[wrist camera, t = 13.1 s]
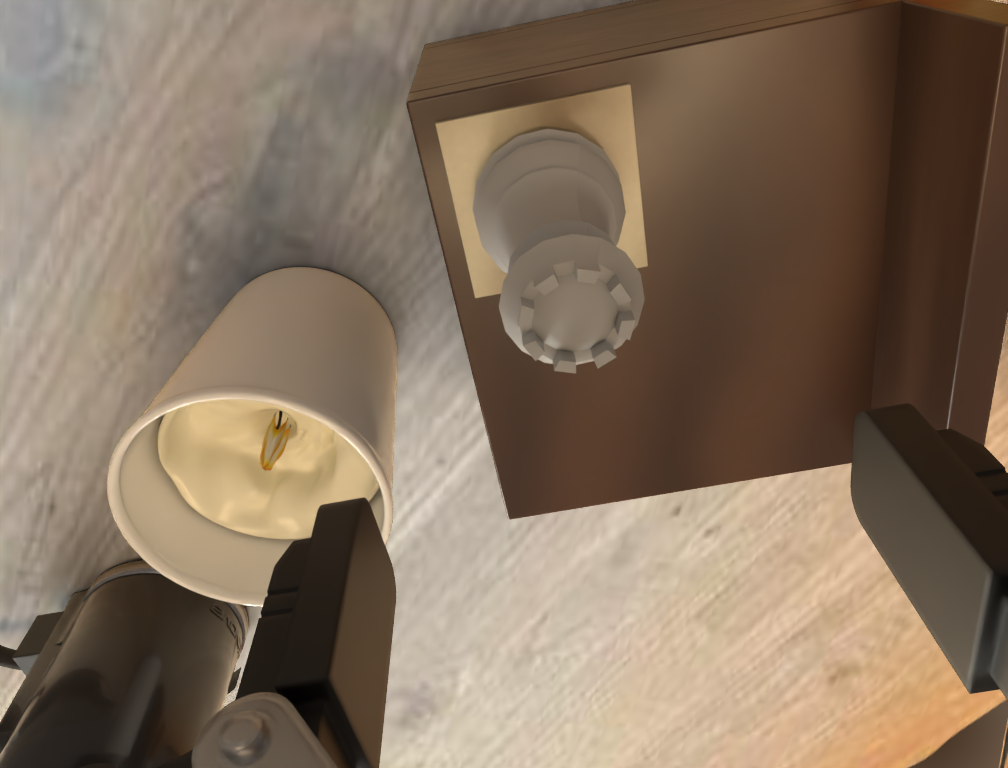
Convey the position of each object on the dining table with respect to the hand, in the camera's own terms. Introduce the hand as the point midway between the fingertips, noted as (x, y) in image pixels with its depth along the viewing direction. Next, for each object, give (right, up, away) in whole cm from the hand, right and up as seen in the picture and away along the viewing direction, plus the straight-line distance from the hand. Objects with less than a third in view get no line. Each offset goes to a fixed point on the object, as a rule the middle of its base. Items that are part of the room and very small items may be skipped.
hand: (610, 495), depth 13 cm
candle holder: (-11, +4, +25) cm, 28 cm away
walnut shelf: (+4, +10, +21) cm, 24 cm away
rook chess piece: (-1, +8, +11) cm, 13 cm away
